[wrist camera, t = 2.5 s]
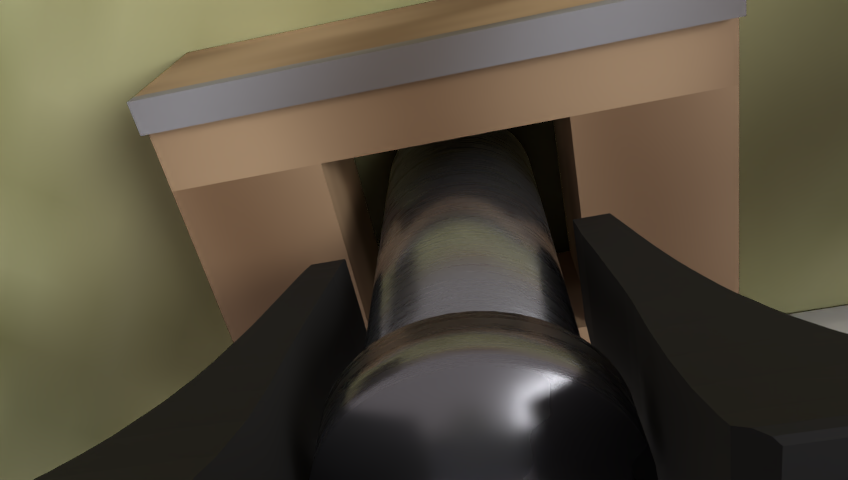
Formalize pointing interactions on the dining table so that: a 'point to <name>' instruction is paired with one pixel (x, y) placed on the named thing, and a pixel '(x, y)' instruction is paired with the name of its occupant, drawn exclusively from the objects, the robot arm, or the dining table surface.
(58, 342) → the dining table surface
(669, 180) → the hitch block
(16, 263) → the dining table surface
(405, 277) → the pin
